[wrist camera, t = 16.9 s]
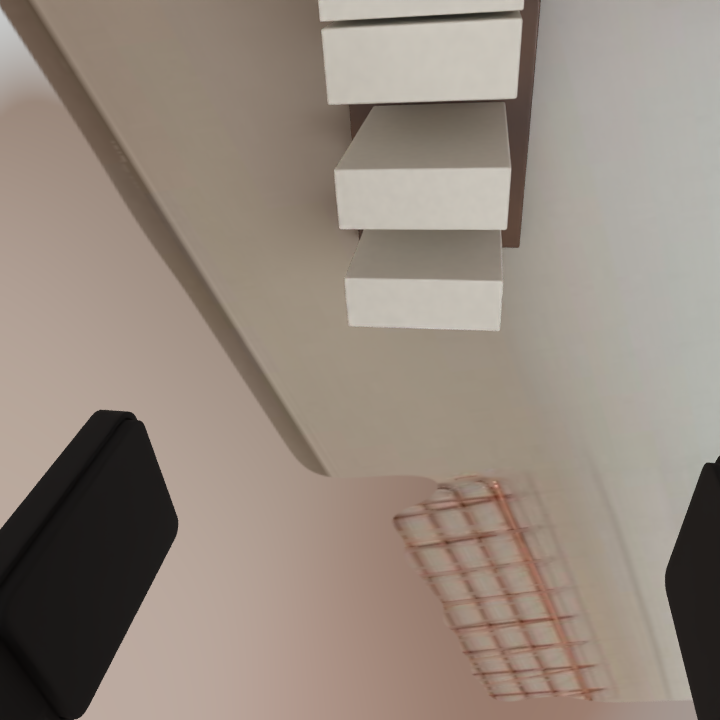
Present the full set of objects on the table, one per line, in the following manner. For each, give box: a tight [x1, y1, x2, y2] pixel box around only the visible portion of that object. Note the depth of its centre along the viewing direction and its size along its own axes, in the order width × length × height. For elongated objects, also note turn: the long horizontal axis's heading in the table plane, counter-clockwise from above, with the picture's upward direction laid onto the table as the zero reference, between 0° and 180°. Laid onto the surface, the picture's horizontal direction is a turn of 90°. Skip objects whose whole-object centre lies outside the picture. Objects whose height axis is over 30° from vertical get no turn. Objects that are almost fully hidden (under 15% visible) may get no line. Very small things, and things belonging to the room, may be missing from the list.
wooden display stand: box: [318, 0, 541, 331], centre depth 27 cm, size 16×9×11 cm, turn 4°
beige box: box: [334, 102, 511, 230], centre depth 27 cm, size 2×6×10 cm, turn 94°
